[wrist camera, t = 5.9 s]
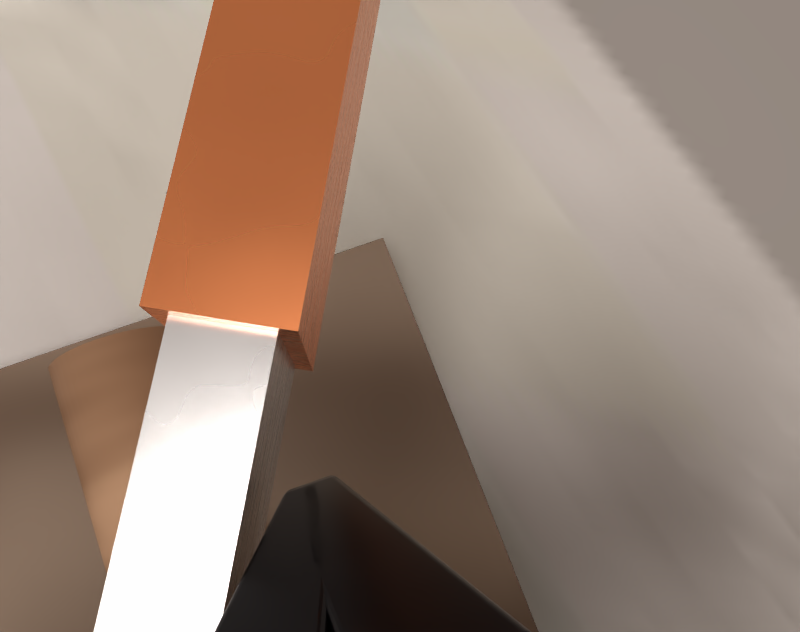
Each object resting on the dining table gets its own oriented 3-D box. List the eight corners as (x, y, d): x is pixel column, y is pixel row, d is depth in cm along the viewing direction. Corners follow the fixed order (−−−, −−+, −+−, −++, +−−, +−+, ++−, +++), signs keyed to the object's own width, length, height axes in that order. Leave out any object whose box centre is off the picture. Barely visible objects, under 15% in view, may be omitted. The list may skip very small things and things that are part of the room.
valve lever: (397, 103, 12) (425, -141, 7) (243, 1013, 9) (122, 1610, 4) (271, 82, 12) (217, -180, 7) (75, 990, 9) (-238, 1569, 4)
